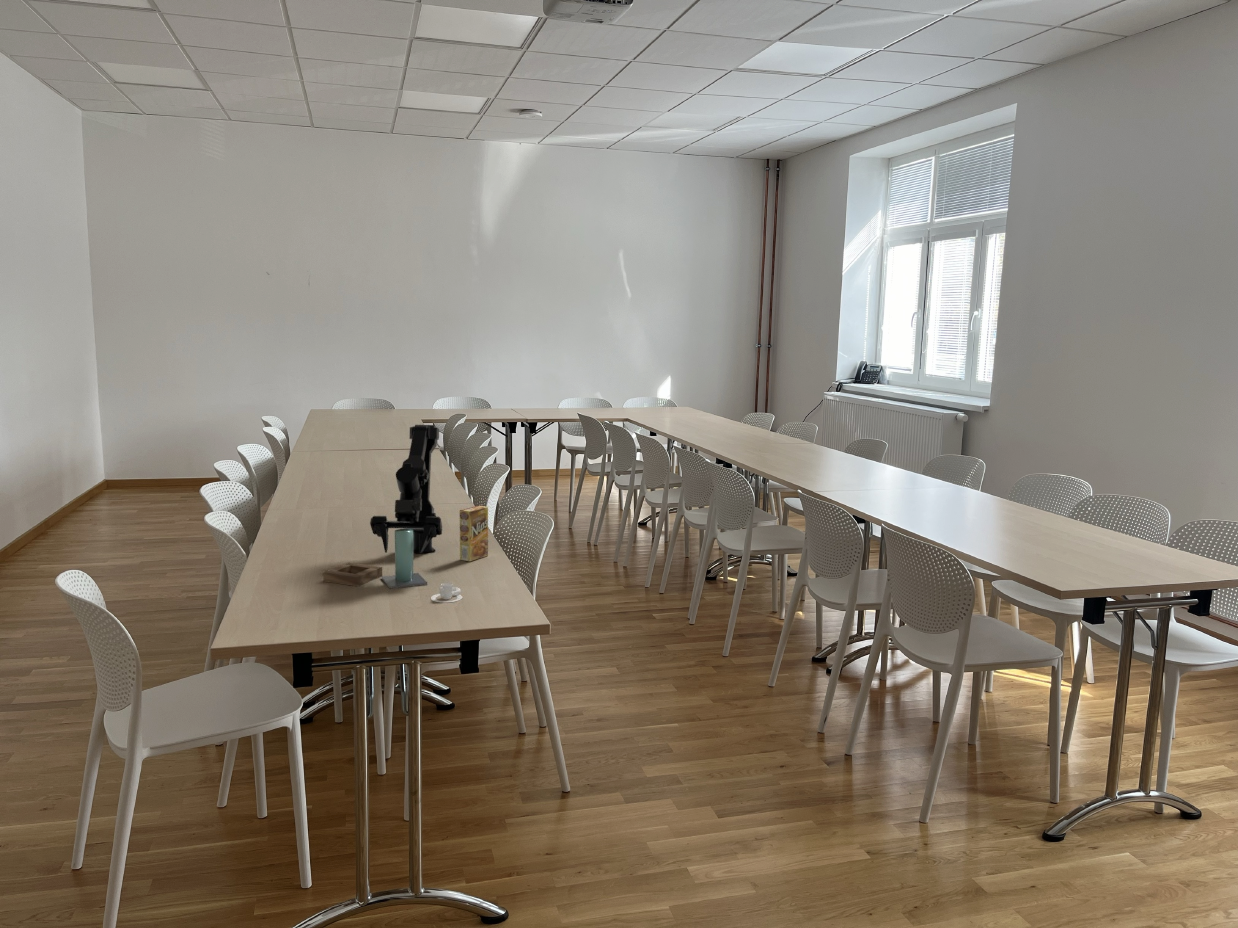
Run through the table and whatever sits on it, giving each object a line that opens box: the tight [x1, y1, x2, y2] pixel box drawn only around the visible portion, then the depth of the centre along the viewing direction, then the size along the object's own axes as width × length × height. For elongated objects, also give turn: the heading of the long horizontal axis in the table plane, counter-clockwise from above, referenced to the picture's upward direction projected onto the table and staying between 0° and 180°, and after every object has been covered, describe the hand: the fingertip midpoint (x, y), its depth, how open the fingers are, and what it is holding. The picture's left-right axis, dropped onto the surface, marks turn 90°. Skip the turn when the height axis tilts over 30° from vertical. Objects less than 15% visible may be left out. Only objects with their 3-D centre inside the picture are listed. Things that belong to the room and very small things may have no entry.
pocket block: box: [322, 562, 383, 587], centre depth 236 cm, size 11×11×2 cm
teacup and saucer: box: [430, 582, 463, 604], centre depth 222 cm, size 9×8×4 cm
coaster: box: [381, 572, 428, 590], centre depth 235 cm, size 10×10×1 cm
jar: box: [394, 528, 414, 582], centre depth 234 cm, size 5×5×14 cm
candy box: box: [459, 505, 489, 562], centre depth 260 cm, size 9×4×15 cm, turn 150°
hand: (403, 552), depth 232 cm, fingers open, 9 cm apart
